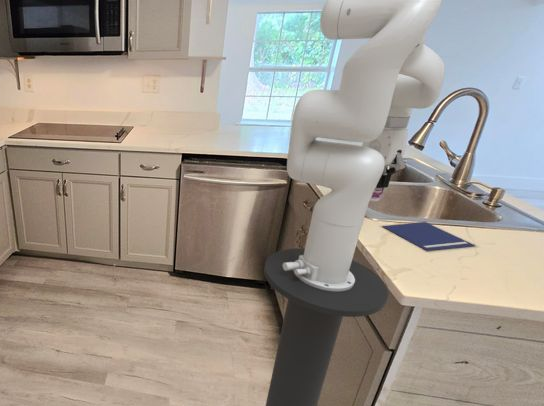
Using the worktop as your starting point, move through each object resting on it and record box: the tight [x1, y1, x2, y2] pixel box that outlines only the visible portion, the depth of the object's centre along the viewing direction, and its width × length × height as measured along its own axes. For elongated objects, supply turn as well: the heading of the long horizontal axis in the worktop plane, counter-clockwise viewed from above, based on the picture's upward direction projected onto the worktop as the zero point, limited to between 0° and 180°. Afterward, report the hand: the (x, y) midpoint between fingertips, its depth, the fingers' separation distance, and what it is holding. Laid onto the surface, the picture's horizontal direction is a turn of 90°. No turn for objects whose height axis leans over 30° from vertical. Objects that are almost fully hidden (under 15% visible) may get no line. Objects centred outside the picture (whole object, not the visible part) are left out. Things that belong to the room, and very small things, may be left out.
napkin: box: [382, 221, 476, 252], centre depth 101 cm, size 14×14×1 cm
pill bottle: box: [369, 187, 385, 202], centre depth 107 cm, size 5×5×10 cm
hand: (373, 183), depth 107 cm, fingers closed on pill bottle, 5 cm apart
